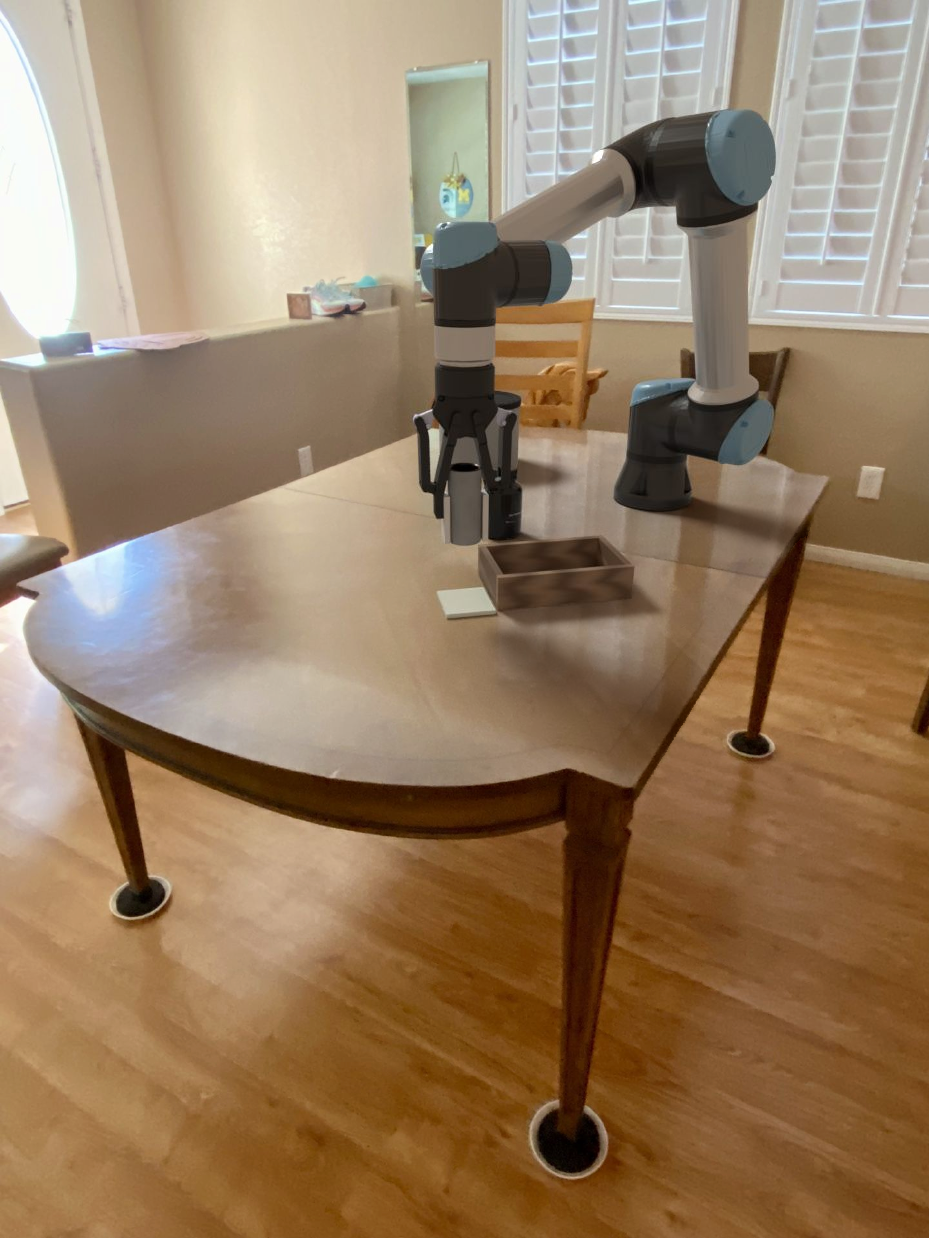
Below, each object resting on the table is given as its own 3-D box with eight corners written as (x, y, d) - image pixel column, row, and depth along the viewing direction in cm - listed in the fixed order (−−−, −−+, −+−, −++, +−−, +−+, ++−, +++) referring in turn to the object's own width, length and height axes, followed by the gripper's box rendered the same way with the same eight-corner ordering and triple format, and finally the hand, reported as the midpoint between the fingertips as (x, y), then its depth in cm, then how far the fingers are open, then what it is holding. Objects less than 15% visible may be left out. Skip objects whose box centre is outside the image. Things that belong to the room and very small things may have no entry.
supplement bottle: (518, 541, 132) (520, 473, 126) (479, 539, 133) (479, 471, 127) (523, 528, 138) (525, 463, 132) (486, 526, 139) (486, 461, 133)
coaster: (483, 590, 114) (483, 586, 113) (495, 613, 107) (495, 610, 106) (436, 594, 112) (436, 590, 112) (446, 618, 105) (446, 614, 105)
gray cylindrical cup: (485, 536, 106) (486, 464, 102) (474, 548, 102) (475, 473, 98) (454, 533, 108) (454, 461, 103) (443, 544, 104) (442, 469, 99)
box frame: (599, 564, 122) (602, 535, 120) (631, 598, 111) (634, 566, 109) (478, 574, 119) (478, 544, 117) (497, 610, 108) (498, 578, 105)
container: (521, 474, 169) (523, 405, 162) (436, 474, 169) (435, 405, 162) (517, 452, 186) (519, 389, 179) (439, 452, 186) (438, 389, 179)
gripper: (525, 355, 99) (519, 525, 110) (390, 359, 96) (397, 533, 107) (541, 363, 93) (533, 544, 103) (397, 368, 90) (404, 553, 100)
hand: (464, 538), depth 105 cm, fingers closed on gray cylindrical cup, 4 cm apart
